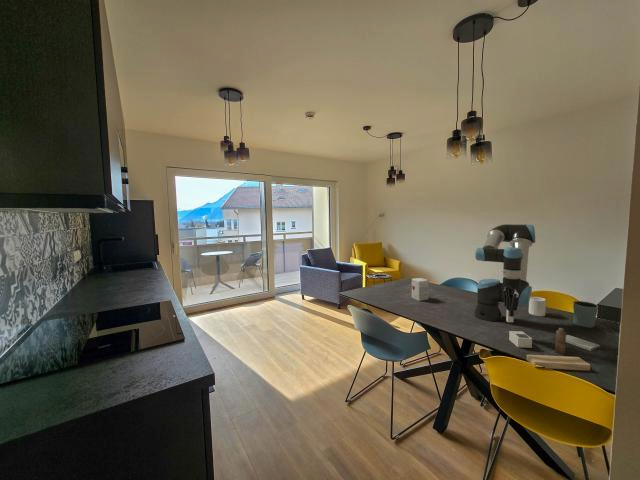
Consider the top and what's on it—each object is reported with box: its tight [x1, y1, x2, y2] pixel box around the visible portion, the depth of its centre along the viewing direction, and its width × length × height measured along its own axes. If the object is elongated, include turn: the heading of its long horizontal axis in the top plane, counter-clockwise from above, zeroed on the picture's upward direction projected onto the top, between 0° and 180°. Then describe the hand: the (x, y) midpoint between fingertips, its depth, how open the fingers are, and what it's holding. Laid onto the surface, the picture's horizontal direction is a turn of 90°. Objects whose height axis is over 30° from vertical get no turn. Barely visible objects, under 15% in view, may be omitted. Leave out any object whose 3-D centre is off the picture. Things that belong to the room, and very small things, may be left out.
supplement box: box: [411, 277, 430, 302], centre depth 206 cm, size 9×9×15 cm
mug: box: [528, 296, 547, 317], centre depth 170 cm, size 8×12×10 cm, turn 114°
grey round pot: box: [572, 300, 599, 328], centre depth 152 cm, size 10×10×12 cm
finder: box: [508, 330, 533, 349], centre depth 133 cm, size 8×6×5 cm
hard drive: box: [566, 334, 601, 352], centre depth 132 cm, size 2×8×12 cm
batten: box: [526, 354, 591, 372], centre depth 115 cm, size 6×20×2 cm, turn 81°
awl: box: [554, 327, 567, 356], centre depth 124 cm, size 3×3×12 cm
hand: (509, 321), depth 142 cm, fingers closed
